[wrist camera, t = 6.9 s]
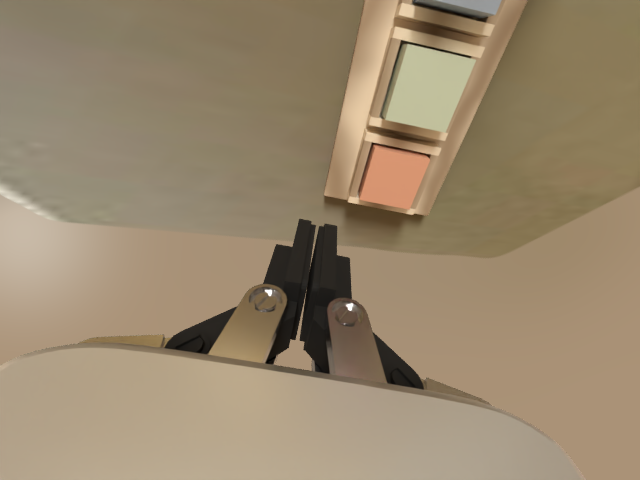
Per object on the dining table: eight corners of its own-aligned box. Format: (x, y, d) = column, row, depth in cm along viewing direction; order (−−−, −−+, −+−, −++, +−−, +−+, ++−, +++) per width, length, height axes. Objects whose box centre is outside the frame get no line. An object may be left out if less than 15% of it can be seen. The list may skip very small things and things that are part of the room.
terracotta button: (423, 151, 32) (430, 159, 29) (404, 198, 35) (409, 209, 33) (372, 140, 31) (374, 148, 29) (358, 189, 35) (359, 199, 32)
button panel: (556, -88, 23) (599, -115, 19) (423, 208, 39) (432, 225, 35) (392, -132, 22) (403, -169, 18) (324, 189, 38) (323, 204, 34)
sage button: (463, 59, 26) (476, 59, 23) (436, 126, 29) (445, 132, 27) (401, 44, 26) (407, 44, 23) (381, 114, 29) (385, 119, 26)
